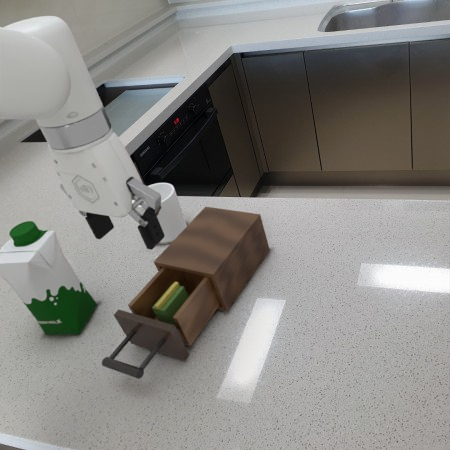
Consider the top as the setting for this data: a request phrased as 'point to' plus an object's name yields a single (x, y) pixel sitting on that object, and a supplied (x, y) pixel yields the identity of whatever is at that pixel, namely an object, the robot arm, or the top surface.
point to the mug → (168, 212)
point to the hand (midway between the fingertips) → (130, 238)
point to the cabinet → (219, 250)
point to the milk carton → (45, 280)
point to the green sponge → (170, 303)
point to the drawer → (160, 331)
